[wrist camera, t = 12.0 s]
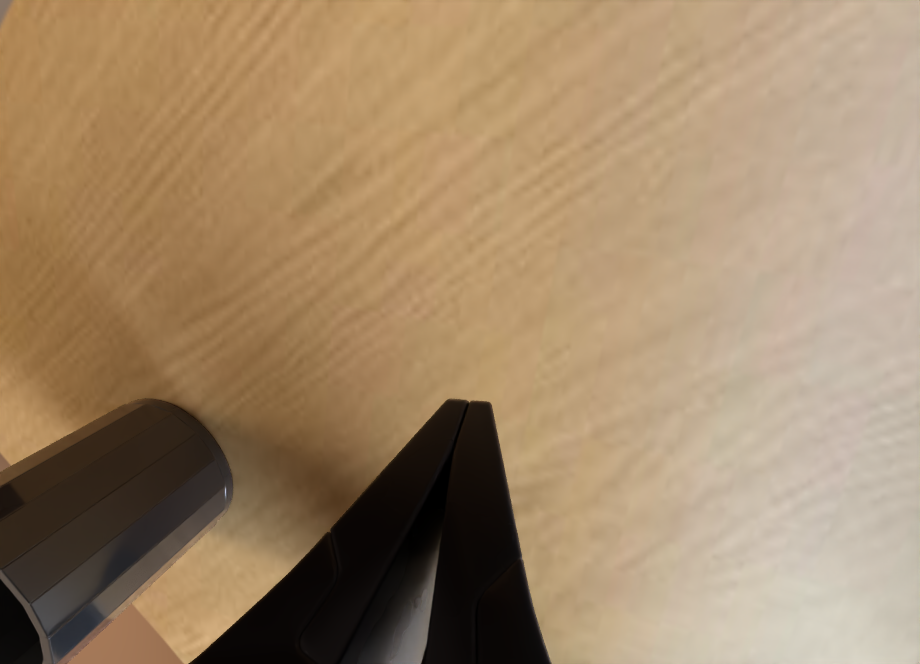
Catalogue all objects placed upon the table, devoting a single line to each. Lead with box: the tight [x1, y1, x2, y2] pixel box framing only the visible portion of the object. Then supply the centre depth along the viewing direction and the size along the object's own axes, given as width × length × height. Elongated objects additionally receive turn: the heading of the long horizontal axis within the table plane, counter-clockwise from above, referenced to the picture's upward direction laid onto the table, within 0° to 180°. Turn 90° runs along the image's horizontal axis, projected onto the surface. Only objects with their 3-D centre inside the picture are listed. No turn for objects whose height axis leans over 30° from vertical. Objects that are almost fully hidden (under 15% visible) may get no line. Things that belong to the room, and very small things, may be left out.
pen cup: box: [0, 399, 233, 664], centre depth 25 cm, size 8×8×10 cm
